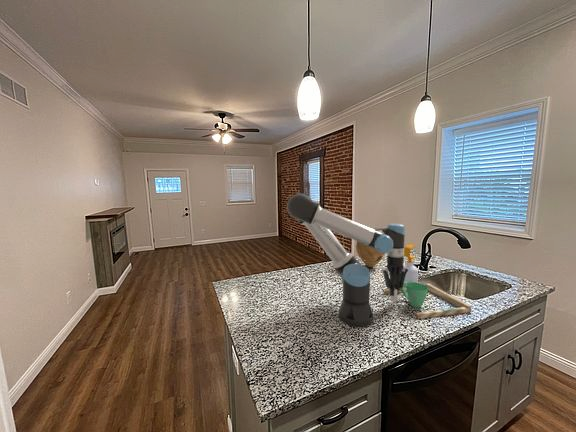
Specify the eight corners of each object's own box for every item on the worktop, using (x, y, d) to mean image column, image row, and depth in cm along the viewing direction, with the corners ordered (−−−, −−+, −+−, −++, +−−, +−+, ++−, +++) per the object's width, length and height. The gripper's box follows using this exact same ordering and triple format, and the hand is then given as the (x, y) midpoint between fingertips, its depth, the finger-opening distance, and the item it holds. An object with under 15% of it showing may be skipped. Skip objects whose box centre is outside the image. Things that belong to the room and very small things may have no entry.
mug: (431, 307, 120) (433, 288, 119) (417, 311, 116) (418, 291, 115) (406, 295, 134) (407, 277, 132) (393, 298, 130) (393, 280, 129)
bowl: (365, 260, 194) (366, 236, 192) (390, 267, 179) (391, 240, 176) (349, 266, 181) (350, 240, 179) (374, 274, 166) (375, 245, 163)
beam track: (418, 318, 111) (418, 312, 110) (384, 292, 137) (384, 287, 137) (471, 312, 115) (471, 306, 115) (428, 288, 142) (428, 283, 142)
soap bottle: (420, 286, 144) (423, 246, 141) (409, 289, 141) (411, 247, 138) (408, 281, 153) (410, 242, 150) (397, 283, 149) (398, 244, 146)
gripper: (387, 258, 115) (386, 306, 118) (412, 256, 117) (410, 303, 120) (378, 254, 122) (377, 299, 125) (402, 252, 125) (401, 296, 128)
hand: (394, 301), depth 123 cm, fingers closed
